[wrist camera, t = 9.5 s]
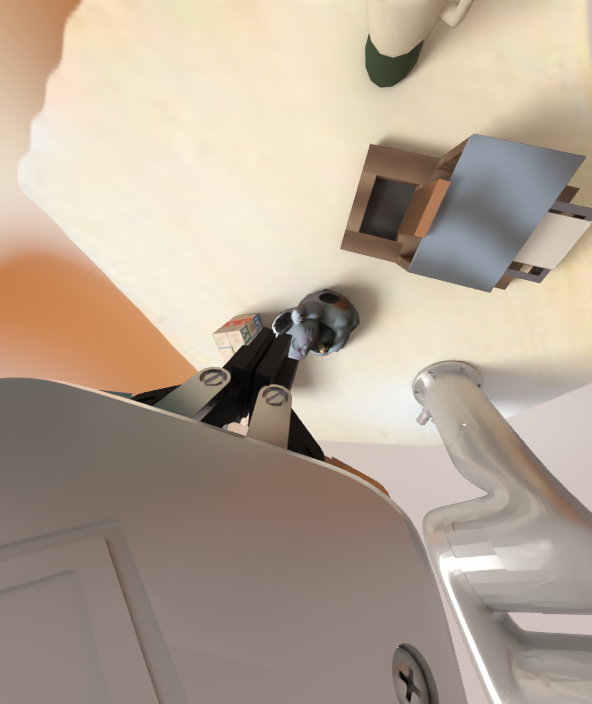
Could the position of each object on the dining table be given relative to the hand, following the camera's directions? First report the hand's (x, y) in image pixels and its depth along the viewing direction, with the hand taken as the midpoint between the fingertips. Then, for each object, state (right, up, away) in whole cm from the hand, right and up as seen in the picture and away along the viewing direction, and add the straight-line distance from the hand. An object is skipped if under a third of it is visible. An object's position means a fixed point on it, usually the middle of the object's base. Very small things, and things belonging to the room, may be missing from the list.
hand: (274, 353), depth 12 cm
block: (+32, +16, +17) cm, 39 cm away
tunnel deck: (+24, +19, +20) cm, 36 cm away
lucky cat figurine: (+6, +6, +32) cm, 33 cm away
